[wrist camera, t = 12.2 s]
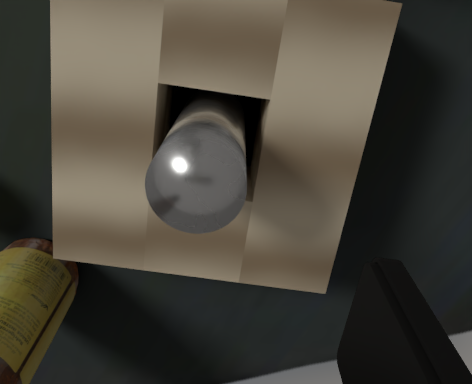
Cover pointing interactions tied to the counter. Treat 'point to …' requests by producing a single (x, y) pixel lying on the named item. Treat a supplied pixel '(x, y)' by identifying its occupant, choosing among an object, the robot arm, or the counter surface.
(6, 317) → the sauce bottle
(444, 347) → the robot arm
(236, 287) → the counter surface
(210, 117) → the long pin
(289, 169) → the hole block
